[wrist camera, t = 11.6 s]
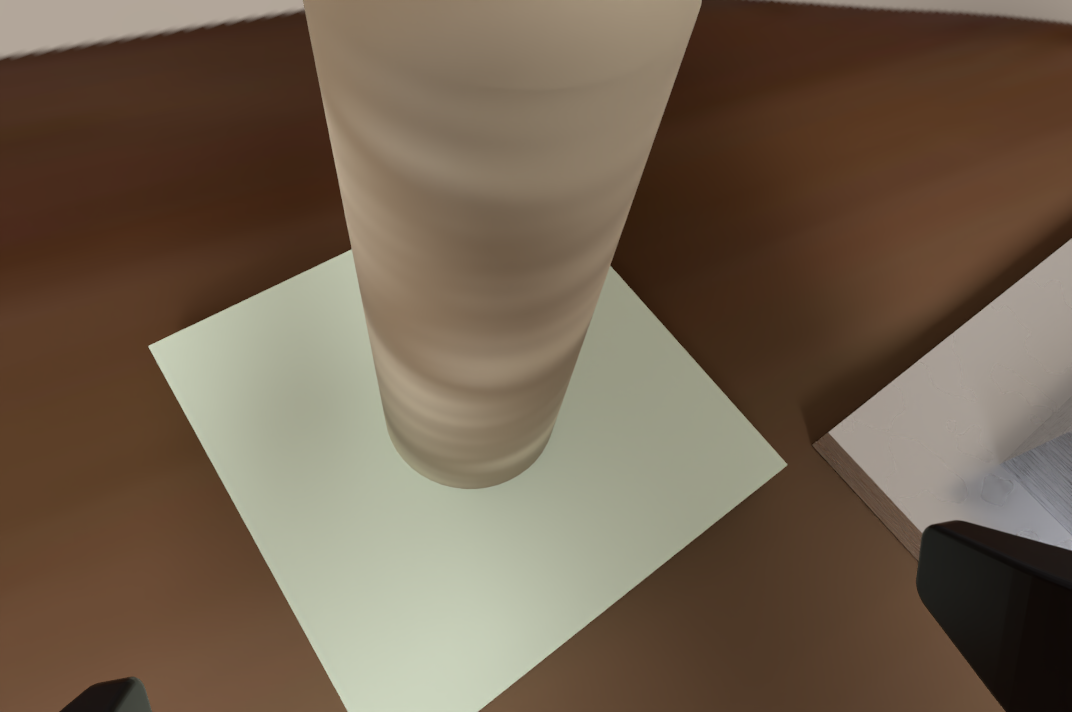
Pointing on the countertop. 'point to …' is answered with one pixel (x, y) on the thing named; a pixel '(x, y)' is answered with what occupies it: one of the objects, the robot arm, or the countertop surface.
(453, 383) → the ash peg
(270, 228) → the countertop surface
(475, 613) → the green pad
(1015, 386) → the grey square socket base
